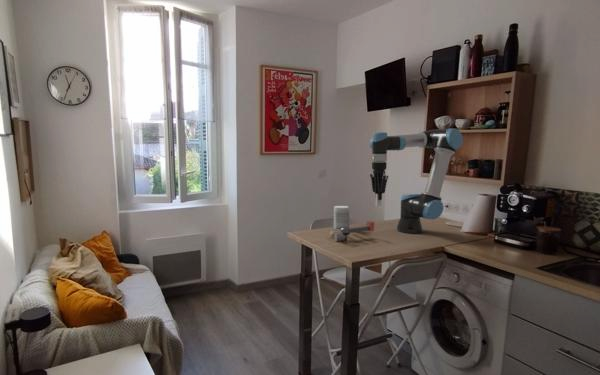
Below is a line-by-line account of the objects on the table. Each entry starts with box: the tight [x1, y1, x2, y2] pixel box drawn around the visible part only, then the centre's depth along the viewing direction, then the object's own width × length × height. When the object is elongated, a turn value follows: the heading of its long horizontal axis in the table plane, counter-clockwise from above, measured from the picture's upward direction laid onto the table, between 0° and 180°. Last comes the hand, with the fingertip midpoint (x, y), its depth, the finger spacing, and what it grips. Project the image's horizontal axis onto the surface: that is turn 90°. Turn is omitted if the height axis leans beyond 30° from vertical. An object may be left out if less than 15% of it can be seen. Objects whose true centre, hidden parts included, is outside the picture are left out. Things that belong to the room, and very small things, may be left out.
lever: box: [334, 220, 375, 241], centre depth 190 cm, size 24×5×8 cm, turn 117°
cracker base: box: [326, 232, 383, 248], centre depth 189 cm, size 23×20×2 cm
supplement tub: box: [333, 205, 350, 230], centre depth 216 cm, size 10×10×15 cm
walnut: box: [329, 230, 340, 239], centre depth 192 cm, size 5×5×4 cm
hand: (378, 205), depth 187 cm, fingers closed
